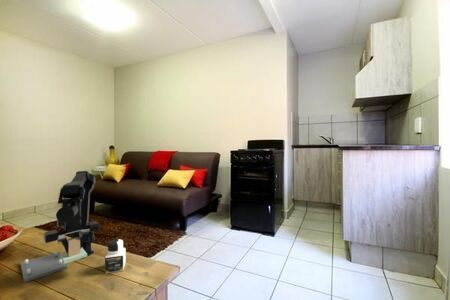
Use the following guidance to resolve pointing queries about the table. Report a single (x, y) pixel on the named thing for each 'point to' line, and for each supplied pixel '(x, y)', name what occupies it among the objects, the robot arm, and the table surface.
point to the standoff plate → (42, 266)
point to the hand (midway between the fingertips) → (73, 251)
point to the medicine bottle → (115, 256)
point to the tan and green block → (73, 251)
